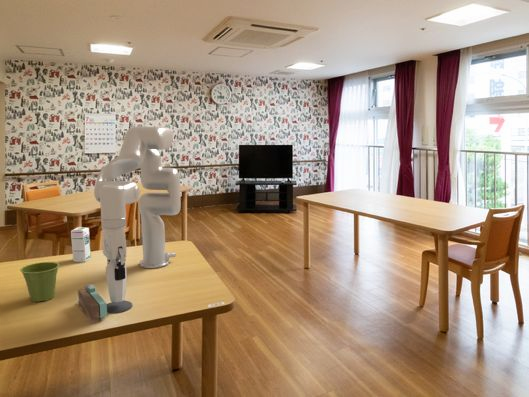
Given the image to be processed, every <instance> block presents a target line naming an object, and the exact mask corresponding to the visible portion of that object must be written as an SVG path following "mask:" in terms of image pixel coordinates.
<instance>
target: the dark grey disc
mask: <svg viewBox="0 0 529 397" xmlns="http://www.w3.org/2000/svg"><path fill="white" fill-rule="evenodd" d="M132 307H133V303H132V302H131V301H129V300H123V301H121V302H111V301H110V302H109V303H107V314H108V313H109V314H120V313H124V312H127V311H129V310H131V309H132Z"/></svg>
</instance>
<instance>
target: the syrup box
mask: <svg viewBox="0 0 529 397" xmlns="http://www.w3.org/2000/svg"><path fill="white" fill-rule="evenodd" d="M70 239H71V251H72V261H73V262H74V263H76V262H77V263H86V262H88V261H89V260H90V259H92V250H91V239H90V228H89V227H84V226H80V227H76V228H74V229H72V230H70Z"/></svg>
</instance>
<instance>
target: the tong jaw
mask: <svg viewBox="0 0 529 397" xmlns="http://www.w3.org/2000/svg"><path fill="white" fill-rule="evenodd" d="M88 290H89V291H88V293H89V294H90V296H91V297H92V298H93V299H94V300H95V301H96V303H97V304H98V305H99V319H100V318H105V317H108V313H107V304H108V303H107V301H106V300H105V299H104V298H103V297H102V296H101V295H100V294H99V293H98V292H97V291H96V287H95V285H94V286H90V287H88Z"/></svg>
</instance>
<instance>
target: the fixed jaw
mask: <svg viewBox="0 0 529 397" xmlns="http://www.w3.org/2000/svg"><path fill="white" fill-rule="evenodd" d="M90 286H94V287H95V285H94V284H86V285H84V286H83V288H81V289H77V294H78V298H77V305H78V306H79V307H80V309H81V310H82V311H83V312H84V314H85V316H86V317H87V318H88V320H89V321H90V322H91V324H96V323H99V322H100V316H99V305H98V304H97V303H96V301H95V300H94V299H93V298H92V297H91V296H90V294H89V293H88V291H89V290H88V287H90Z"/></svg>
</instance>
